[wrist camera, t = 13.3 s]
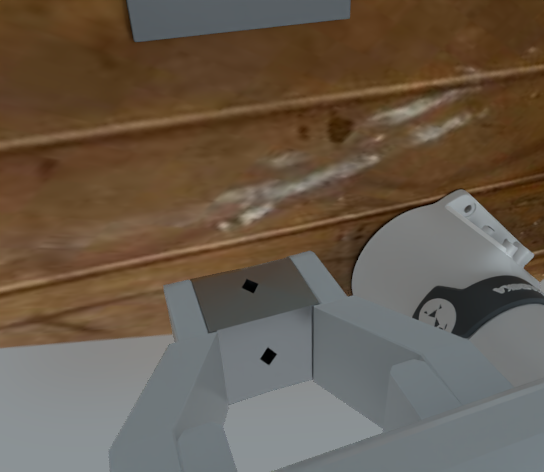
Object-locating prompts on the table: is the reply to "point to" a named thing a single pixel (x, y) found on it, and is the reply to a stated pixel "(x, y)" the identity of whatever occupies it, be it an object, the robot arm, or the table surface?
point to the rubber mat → (225, 15)
